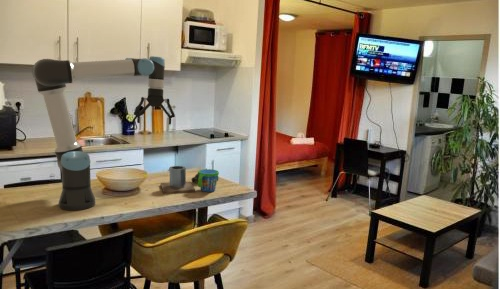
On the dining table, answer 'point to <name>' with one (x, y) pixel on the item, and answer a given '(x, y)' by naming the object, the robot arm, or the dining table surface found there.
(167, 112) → the robot arm
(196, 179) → the black rounded lump
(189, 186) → the shaft stand
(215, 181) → the snack cup
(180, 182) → the grey pen holder
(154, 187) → the dining table surface
